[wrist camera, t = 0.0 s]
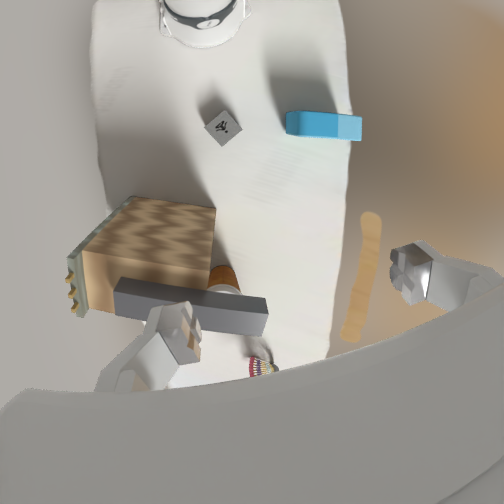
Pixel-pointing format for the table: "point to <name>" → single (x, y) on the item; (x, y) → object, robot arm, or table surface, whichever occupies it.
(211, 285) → the disposable coffee cup
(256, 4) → the table surface
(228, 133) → the dice cube
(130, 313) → the grey rectangular bar
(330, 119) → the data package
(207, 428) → the robot arm
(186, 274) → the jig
